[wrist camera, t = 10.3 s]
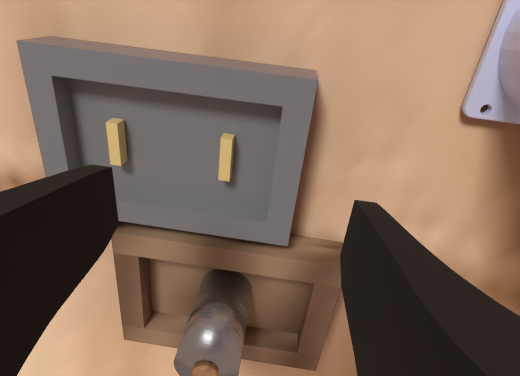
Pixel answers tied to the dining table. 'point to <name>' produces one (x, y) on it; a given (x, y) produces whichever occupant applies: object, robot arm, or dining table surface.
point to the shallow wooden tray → (233, 259)
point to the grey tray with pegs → (175, 132)
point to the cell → (215, 326)
